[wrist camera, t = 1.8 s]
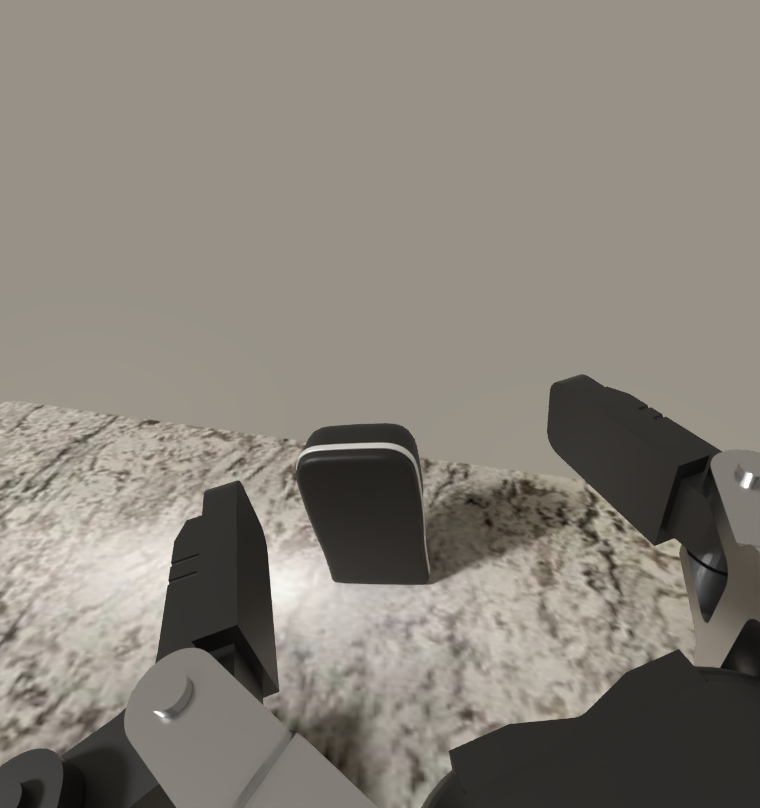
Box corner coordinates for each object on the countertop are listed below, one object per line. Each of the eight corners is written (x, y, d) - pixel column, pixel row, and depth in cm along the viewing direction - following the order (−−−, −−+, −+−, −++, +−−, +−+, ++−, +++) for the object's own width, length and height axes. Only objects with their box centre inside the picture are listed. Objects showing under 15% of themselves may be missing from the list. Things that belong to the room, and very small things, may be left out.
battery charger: (433, 539, 31) (417, 410, 25) (432, 587, 28) (414, 454, 22) (340, 539, 32) (302, 416, 26) (329, 585, 29) (283, 459, 23)
